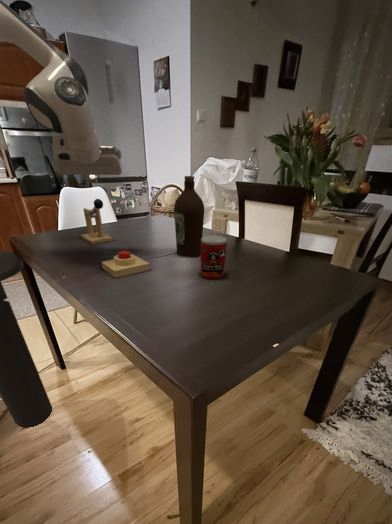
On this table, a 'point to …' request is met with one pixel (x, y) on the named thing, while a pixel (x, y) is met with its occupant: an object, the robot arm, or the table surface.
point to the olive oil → (189, 220)
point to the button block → (125, 266)
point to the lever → (96, 207)
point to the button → (124, 254)
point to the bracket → (92, 236)
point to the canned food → (213, 256)
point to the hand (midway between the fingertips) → (93, 181)
